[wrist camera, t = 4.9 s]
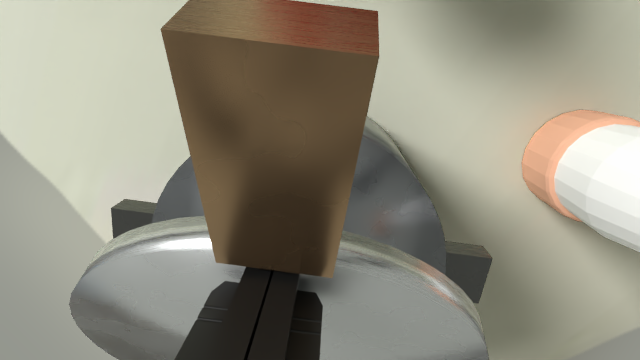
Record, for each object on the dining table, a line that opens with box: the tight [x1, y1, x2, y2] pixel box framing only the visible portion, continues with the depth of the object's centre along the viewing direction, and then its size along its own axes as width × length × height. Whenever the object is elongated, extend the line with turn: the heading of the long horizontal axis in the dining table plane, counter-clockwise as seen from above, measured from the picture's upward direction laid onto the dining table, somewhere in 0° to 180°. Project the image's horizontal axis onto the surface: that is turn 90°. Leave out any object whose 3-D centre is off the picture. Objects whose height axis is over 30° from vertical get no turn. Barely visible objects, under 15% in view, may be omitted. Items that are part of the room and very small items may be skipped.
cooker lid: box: [69, 0, 489, 360], centre depth 13 cm, size 17×23×3 cm
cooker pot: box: [111, 116, 492, 303], centre depth 25 cm, size 22×18×10 cm
